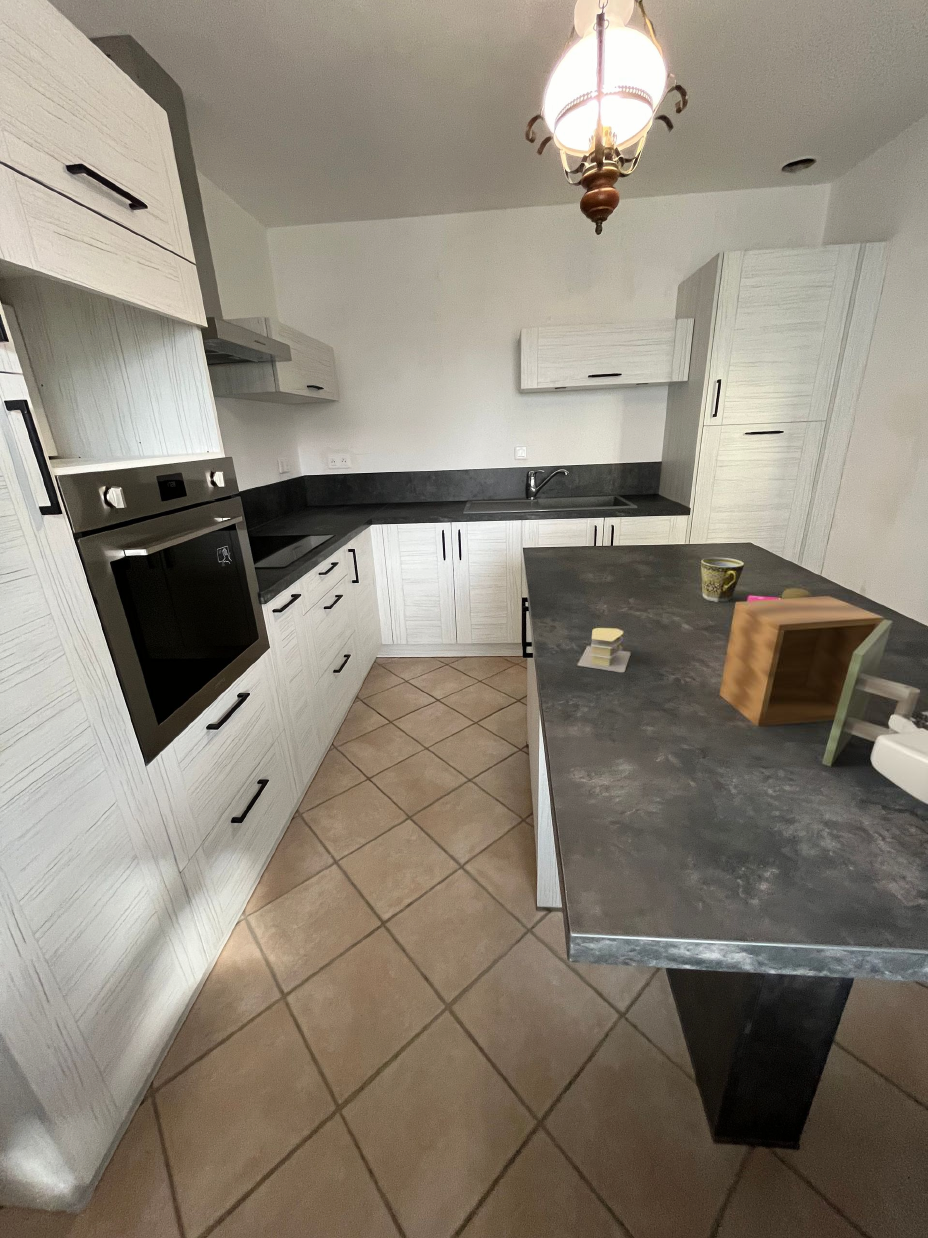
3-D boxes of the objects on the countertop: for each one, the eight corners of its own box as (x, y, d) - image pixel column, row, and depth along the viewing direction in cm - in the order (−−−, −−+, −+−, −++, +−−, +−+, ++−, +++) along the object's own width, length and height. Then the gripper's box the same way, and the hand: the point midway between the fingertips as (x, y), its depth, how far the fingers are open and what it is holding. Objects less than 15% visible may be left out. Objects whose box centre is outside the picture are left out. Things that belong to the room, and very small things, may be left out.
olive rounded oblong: (766, 638, 105) (776, 589, 101) (777, 630, 109) (787, 583, 105) (798, 646, 101) (810, 596, 97) (808, 638, 105) (820, 589, 101)
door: (911, 737, 71) (948, 632, 65) (885, 788, 61) (926, 670, 55) (854, 719, 76) (883, 619, 70) (821, 763, 66) (853, 652, 60)
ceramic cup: (690, 592, 136) (695, 557, 132) (727, 592, 135) (733, 556, 131) (710, 608, 123) (716, 570, 120) (750, 607, 123) (758, 569, 119)
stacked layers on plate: (624, 673, 93) (626, 646, 91) (577, 665, 96) (578, 640, 94) (630, 652, 101) (633, 627, 99) (587, 646, 105) (588, 622, 103)
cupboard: (853, 718, 76) (883, 617, 70) (757, 727, 75) (779, 624, 69) (805, 687, 85) (828, 595, 79) (719, 694, 84) (735, 601, 78)
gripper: (1155, 757, 46) (992, 688, 59) (966, 778, 44) (839, 701, 57) (1125, 810, 49) (974, 732, 62) (943, 832, 47) (826, 747, 59)
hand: (908, 717), depth 59 cm, fingers closed
